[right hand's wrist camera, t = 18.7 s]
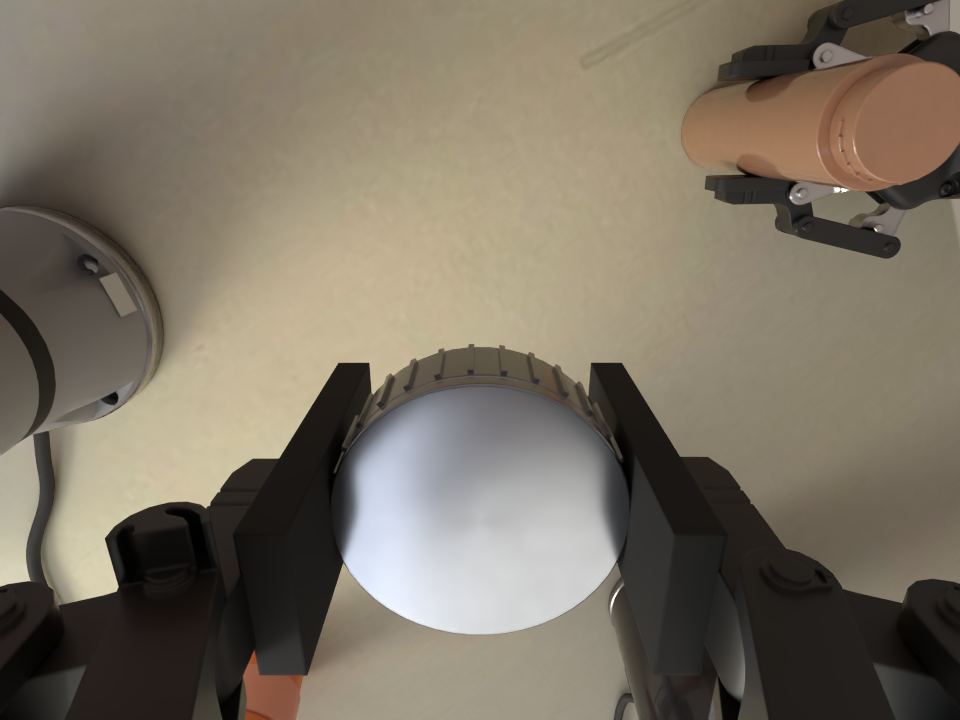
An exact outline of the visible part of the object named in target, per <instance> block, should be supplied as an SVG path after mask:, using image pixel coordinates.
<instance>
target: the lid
mask: <svg viewBox="0 0 960 720" xmlns="http://www.w3.org/2000/svg"><path fill="white" fill-rule="evenodd" d="M340 451H342V454H341V456H340V458H339V461H338V463H337V465H336V468H335V470H334V478H333V483H332V488H331V492H330V514H331V523H332V531H333V538H334V542H335V545H336V547H337V550H338V552H339V554H340V557H341V559H342V561H343V562H344V564H345V566H346V567H347V569H348V571H349V572H350V574H351V575H352V576H353V577H354V579H355V580H356V581H357V582H358V584H359V585H360V586H361V587H362V588H363V589H364V590H365V591H366V592H367V593H368V594H369V595H370V596H371V597H372V598H374V599H375V600H376V601H378V602H379V603H380V604H382V605H383V606H384V607H386V608H387V609H389V610H391V611H392V612H394V613H396V614H398V615H399V616H401V617H403V618H405V619H408V620H410V621H412V622H415V623H417V624H419V625H423V626H426V627H429V628H432V629H435V630H440V631H445V632H450V633H457V634H466V635H493V634H504V633H510V632H515V631H520V630H525V629H528V628H531V627H534V626H538V625H541V624H543V623H546V622H548V621H550V620H553V619H555V618H557V617H559V616H561V615H562V614H564V613H566V612H568V611H570V610H571V609H573V608H574V607H576V606H577V605H578V604H580V603H581V602H583V601H584V600H585V599H586V598H588V597H589V596H590V595H591V594H592V593H593V592H594V591H595V590H596V589H597V588H598V587H599V586H600V585H601V584H602V582H603V581H604V580H605V579H606V578H607V577H608V575H609V574H610V572H611V571H612V569H613V568H614V566H615V564H616V563H617V561H618V559H619V557H620V555H621V552H622V550H623V548H624V545H625V542H626V538H627V534H628V526H629V517H630V506H631V498H630V492H629V487H628V482H627V478H626V475H625V473H624V470H623V467H622V465H621V463H622V462H624V458H623V456H622V454H621V451H620V449H619V447H618V445H617V442H616V440H615V438H614V436H613V433H612V431H611V429H610V427H609V425H608V424H607V422H606V420H605V418H604V415H603V413H602V411H601V408H600V406H599V404H598V403H597V402H596V403H594V404H593V403H592V401H591V400H590V399H589V397H588V396H587V395H586V392H585V390H584V387H583V385H582V384H581V383H580V382H578V383H575V382H574V381H573V380H572V379H570V378H569V377H568V376H566V375H565V374H564V373H562V370H561V367H560V366H558V365H557V364H556V365H555V366H554V367H553V366H551V365H549V364H548V363H546V362H544V361H542V360H539V359H537V358H535V356H534V354H533V353H531V352H529V353H528V355H527V354H523V353H519V352H515V351H512V350H507V349H505V346H501V345H499V348H491V347H474V344H469V347H468V348H461V349H453V350H449V351H445V350H444V348H443V349H439V351H438V353H437V354H434V355H431V356H428V357H426V358H423V359H421V360H418V361H417V360H416V359H413V360H411V362H410V365H409V366H407V367H405V368H403V369H402V370H401V371H399V372H398V373H396V374H395V375H394V376H393V375H392V374H391V373H390V374H389V375H388V376H387V377H386V380H385V382H384V384H383V385H382V386H381V387H380V388H379V389H378V390H377V391H376V392H375V394H374V395H373V394H372V393H370V394H369V395H368V396H367V399H366V401H365V403H364V406H363V408H362V410H361V413H360V415H359V416H358V415H355V417H354V420H353V422H352V424H351V426H350V429H349V431H348V433H347V435H346V438H345V440H344V442H343V444H342V447H341V449H340Z"/></svg>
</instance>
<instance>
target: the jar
mask: <svg viewBox="0 0 960 720" xmlns="http://www.w3.org/2000/svg"><path fill="white" fill-rule="evenodd" d="M681 139H682V145H683V148H684V150H685V152H686V154H687V156H688V157H689V158H690V159H691V160H692V161H693V162H694V163H695V164H697V165H698V166H700V167H703V168H706V169H712V170H719V171H726V172H733V173H740V174H746V175H753V176H760V177H767V178H774V179H780V180H787V181H794V182H801V183H808V184H814V185H821V186H828V187H835V188H842V189H848V190H855V191H876V190H881V189H885V188H888V187H890V186H893V185H902V184H905V183H908V182H911V181H913V180H918V179H919V178H921V177H923V176H925V175H927V174H929V173H930V172H932V171H934V170H935V169H936V168H938V167H939V166H940V165H941V164H943V163H944V162H945V161H946V160H947V159H948V158H949V156H950V155H951V154H952V153H953V152H954V150H955V149H956V147H957V146H958V145H959V143H960V76H959V75H958V74H957V73H956V72H955V71H954V70H952V69H951V68H949V67H948V66H946V65H944V64H940V63H937V62H931V61H925V60H923V59H921V58H919V57H916V56H913V55H909V54H887V55H881V56H876V57H871V58H866V59H861V60H856V61H851V62H846V63H841V64H836V65H832V66H827V67H822V68H817V69H812V70H807V71H802V72H797V73H792V74H787V75H782V76H777V77H772V78H767V79H762V80H757V81H752V82H747V83H742V84H737V85H732V86H727V87H722V88H717V89H714V90H711V91H709V92H707V93H705V94H703V95H702V96H701V97H699V98H698V99H697V100H696V101H695V102H694V103H693V104H692V106H691V107H690V108H689V110H688V111H687V113H686V115H685V118H684V121H683V124H682V130H681Z"/></svg>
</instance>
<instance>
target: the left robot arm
mask: <svg viewBox="0 0 960 720" xmlns="http://www.w3.org/2000/svg"><path fill="white" fill-rule="evenodd" d="M889 15H892V17H891V21H892V23H894V24H895V26H896V27H898V28H900V29H906V28H909V29H912V30H914V31H915V33H916V35H917V39H916V40H915V41H914V42H912V43H911V44H909V45H908V46H906V47H905V48H904V49H902V50H901V51H899V52H898V53H897V54H909V55H913V56H916V57H919V58H921V59H923V60H925V61H931V62H937V63H940V64H944V65H946V66H948V67H949V68H951V69H952V70H954V71H955V72H956V73H957V74H958V75H959V76H960V34H958V33H956V32H952V31H949V23H950V0H844V1H842V2H839V3H836V4H834V5H831V6H828V7H825V8H823V9H820V10H818V11H816V12H814V13H813V14H812V15H811V16H810V18H809V20H808V25H807V27H808V31H807V33H806V35H805V37H804V39H803V41H802V42H801V43H800V44H799V45H767V46H766V45H765V46H752V47H749V48H746V49H743V50H741V51H739V52H736V53H734V54H732V61H731V62H730V63H726V64H723V65H720V66H719V73H718V80H719V81H728V80H762V79H767V78H772V77H777V76H782V75H787V74H792V73H797V72H802V71H807V70H812V69H817V68H822V67H827V66H832V65H836V64H841V63H846V62H851V61H856V60H861V59H866V58H871V57H873V56H864V55H860V54H858V53H855V52H853V51H850V50H848V49H845V48H843V47H840V46H839V45H840V43H841V41H842V39H843V37H844V35H845V33H846V31H847V29H848V28H849V27H852V26H856V25H859V24H862V23H866V22H869V21H873V20H876V19H879V18H883V17H886V16H889ZM705 189H706V190H711V191H715V197H714V198H715V199H718V200H720V201H723V202H726V203H730V204H774V205H775V207H776V210H777V215H778V216H777V217H776V220H775V227H776V228H777V230H779V231H781V232H784V233H788V234H792V235H795V236H797V237H800V238H803V239H807V240H811V241H815V242H819V243H823V244H827V245H832V246H836V247H840V248H844V249H848V250H852V251H856V252H860V253H865V254H869V255H873V256H877V257H881V258H891V257H893V256H895V255H896V254H897V253H898V251H899V249H900V246H901V243H900V240H899V239H898V238H897V237H894V234H895V232H896V230H897V228H898V226H899V224H900V222H901V220H902V218H903V216H904V213H905V211H906V210H908V209H912V208H915V207H917V206H919V205H921V204H923V203H925V202H927V201H930V200H935V199H960V143H959V145H958V146H957V147H956V149H955V150H954V152H953V153H952V154H951V155H950V156H949V158H948V159H947V160H946V161H945V162H944V163H943V164H941V165H940V166H939V167H938V168H936V169H935V170H934V171H932V172H930V173H929V174H927V175H925V176H923V177H921V178H919V179H918V180H913V181H911V182H908V183H905V184H902V185H893V186H890V187H888V188H885V189H881V190H876V191H865V192H866V193H867V194H868V195H869V196H871V197H872V198H873V199H874V200H875V201H876V202H878V203H879V204H880V206H879V207H878V208H877V209H876V210H875V211H874V212H872V213H869V214H864V213H863V214H859V215H857V216H855V217H854V218H853V219H851V220H850V221H849V225H846V224H841V223H837V222H833V221H829V220H825V219H821V218H817V217H814V216H813V211H812V205H811V202H812V201H815V200H817V199H820V198H823V197H826V196H828V195H831V194H834V193H838V192H846V191H850V190H848V189H842V188H835V187H828V186H821V185H814V184H808V183H801V182H794V181H787V180H780V179H774V178H767V177H760V176H753V175H714V176H706V182H705ZM609 614H610V618H611V621H612V624H613V626H614V628H615V632H616V635H617V639H618V643H619V647H620V651H621V655H622V658H623V662H624V666H625V672H626V676H627V679H628V683H629V687H630V690H631V694H630V693H626V694H624V695H623V696H622V697H621V699H620V700H619V702H618V704H617V707H616V711H615V718H614V720H622V716H623V712H624V709H625V707H626V705H627V703H628V702H632V703H635V707H636V710H637V714H638V718H639V720H708V717H709V712H710V707H711V702H712V697H713V692H714V688H715V683H716V678H717V671H716V669H715V666H714V664H713V662H712V660H711V657H710V655H709V653H708V651H707V648H706V652H705V657H704V662H703V668H702V673H701V675H653V673H652V670H651V667H650V664H649V661H648V658H647V654H646V651H645V648H644V645H643V642H642V639H641V636H640V633H639V629H638V626H637V623H636V620H635V617H634V614H633V611H632V607H631V604H630V601H629V598H628V595H627V592H626V589H625V586H624V582H623V579H622V578H621V579H620V580H619V581H618V583H617V584H616V585H615V587H614V589H613V590H612V593H611V595H610V599H609Z"/></svg>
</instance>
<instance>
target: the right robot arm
mask: <svg viewBox="0 0 960 720" xmlns="http://www.w3.org/2000/svg"><path fill="white" fill-rule="evenodd" d="M162 345H163V329H162V321H161V315H160V312H159V308H158V305H157V302H156V299H155V297H154V294H153V292H152V290H151V288H150V286H149V284H148V282H147V281H146V279H145V277H144V276H143V274H142V273H141V271H140V270H139V268H138V267H137V266H136V264H135V263H134V262H133V261H132V260H131V258H130V257H129V256H128V255H127V254H126V253H125V252H124V251H123V250H122V249H121V248H120V247H119V246H118V245H117V244H116V243H114V242H113V241H112V240H111V239H110V238H108V237H107V236H106V235H104V234H103V233H102V232H100V231H99V230H97V229H95V228H94V227H92V226H91V225H89V224H87V223H85V222H83V221H81V220H79V219H77V218H74V217H72V216H70V215H67V214H64V213H61V212H58V211H55V210H50V209H46V208H40V207H32V206H14V207H5V208H0V455H2V454H3V453H4V452H6V451H7V450H9V449H10V448H12V447H13V446H14V445H16V444H17V443H19V442H20V441H22V440H23V439H25V438H26V437H28V436H29V435H32V434H33V436H34V446H35V456H36V463H37V469H38V475H39V482H40V495H39V503H38V508H37V512H36V515H35V518H34V521H33V524H32V527H31V530H30V534H29V537H28V542H27V549H26V561H27V568H28V573H29V577H30V580H31V582H30V581H27V582H20V583H14V584H7V585H4V586H1V587H0V720H245V714H246V704H247V695H246V688H245V683H244V678H243V675H244V673H245V670H246V668H247V666H248V663H249V661H250V659H251V657H252V654H253V652H254V650H255V655H256V660H257V666H258V671H259V675H307V674H308V671H309V668H310V665H311V662H312V659H313V656H314V652H315V649H316V646H317V643H318V640H319V637H320V634H321V630H322V627H323V624H324V621H325V618H326V615H327V612H328V609H329V605H330V602H331V599H332V596H333V593H334V590H335V587H336V584H337V580H338V577H339V574H340V571H341V568H342V565H343V561H342V559H341V557H340V554H339V552H338V550H337V547H336V545H335V542H334V538H333V531H332V523H331V514H330V492H331V488H332V483H333V478H334V470H335V468H336V465H337V463H338V461H339V458H340V456H341V454H342V451H340V449H341V447H342V444H343V442H344V440H345V438H346V435H347V433H348V431H349V429H350V426H351V424H352V422H353V420H354V417H355V415H358V416H359V415H360V413H361V410H362V408H363V406H364V403H365V401H366V399H367V396H368V395H369V394H370V393H371V380H370V366H369V363H338V365H337V366H336V368H335V370H334V371H333V373H332V374H331V376H330V378H329V379H328V381H327V382H326V384H325V386H324V387H323V389H322V391H321V392H320V394H319V395H318V397H317V399H316V400H315V402H314V403H313V405H312V407H311V408H310V410H309V411H308V413H307V415H306V416H305V418H304V420H303V421H302V423H301V424H300V426H299V428H298V429H297V431H296V432H295V434H294V436H293V437H292V439H291V441H290V442H289V444H288V445H287V447H286V449H285V450H284V452H283V453H282V455H281V457H280V458H279V459H252V460H250V461H249V462H247V463H246V464H245V465H243V466H242V467H240V468H239V469H237V470H236V471H234V472H233V473H232V474H231V475H230V477H229V478H228V479H227V481H226V482H225V484H224V485H223V486H222V488H221V489H220V490H221V491H220V492H218V493H217V494H216V496H215V497H214V499H213V500H212V501H211V504H210V506H208V507H207V508H206V509H205V508H204V507H203V506H202V505H199V504H195V503H190V502H170V503H165V504H161V505H157V506H153V507H149V508H147V509H144V510H142V511H140V512H137V513H135V514H133V515H131V516H129V517H128V518H126V519H125V520H123V521H122V522H120V523H119V524H117V525H116V526H115V527H114V528H113V529H112V530H111V532H110V533H109V534H108V535H107V537H106V538H105V541H106V544H107V548H108V551H109V555H110V558H111V561H112V565H113V568H114V572H115V575H116V579H117V582H118V586H119V588H118V590H117V592H114V593H111V594H107V595H104V596H99V597H95V598H90V599H86V600H81V601H77V602H72V603H68V604H63V605H58V602H57V600H56V597H55V594H54V591H53V590H52V589H51V588H50V587H48V585H47V582H46V580H45V577H44V574H43V570H42V565H41V556H40V550H41V541H42V537H43V533H44V530H45V527H46V524H47V521H48V518H49V515H50V512H51V508H52V505H53V499H54V489H55V483H54V472H53V466H52V459H51V450H50V438H49V430H53V429H58V428H62V427H66V426H70V425H74V424H78V423H83V422H88V421H92V420H96V419H98V418H101V417H104V416H106V415H108V414H110V413H112V412H114V411H115V410H117V409H118V408H120V407H121V406H122V405H124V404H125V403H126V402H128V401H129V400H130V399H132V398H133V397H134V396H136V395H137V394H138V393H139V392H140V391H141V390H142V389H143V388H144V387H145V386H146V385H147V383H148V382H149V381H150V379H151V378H152V376H153V374H154V373H155V371H156V368H157V366H158V363H159V360H160V356H161V352H162ZM589 399H590V400H591V401H592V403H593V404H594V403H596V402H597V403H598V404H599V406H600V408H601V411H602V413H603V415H604V418H605V420H606V422H607V424H608V425H609V427H610V429H611V431H612V433H613V436H614V438H615V440H616V442H617V445H618V447H619V449H620V451H621V454H622V456H623V458H624V462H622V463H621V465H622V467H623V470H624V473H625V475H626V478H627V482H628V487H629V492H630V498H631V506H630V517H629V526H628V534H627V538H626V542H625V545H624V548H623V550H622V552H621V555H620V557H619V559H618V561H617V564H618V567H619V570H620V573H621V576H622V579H623V582H624V586H625V589H626V592H627V595H628V598H629V601H630V604H631V607H632V611H633V614H634V617H635V620H636V623H637V626H638V629H639V633H640V636H641V639H642V642H643V645H644V648H645V651H646V654H647V658H648V661H649V664H650V667H651V670H652V673H653V675H701V673H702V668H703V662H704V657H705V652H706V648H707V651H708V653H709V655H710V657H711V660H712V662H713V664H714V666H715V669H716V671H717V678H716V683H715V688H714V692H713V697H712V702H711V707H710V712H709V717H708V720H960V584H958V583H955V582H950V581H944V580H937V579H928V580H921V581H916V582H915V583H914V584H912V585H911V586H910V587H909V588H908V589H907V592H906V595H905V598H904V601H903V603H899V602H895V601H890V600H886V599H881V598H877V597H872V596H868V595H863V594H859V593H855V592H851V591H848V590H844V589H842V587H841V585H840V584H839V582H838V581H837V579H836V578H835V576H834V575H833V573H832V572H830V571H829V570H828V569H827V568H825V567H824V566H823V565H821V564H820V563H819V562H818V561H816V560H814V559H812V558H810V557H808V556H806V555H804V554H802V553H800V552H796V551H792V550H789V549H786V548H785V547H784V546H783V544H782V543H781V542H780V540H779V539H778V538H777V536H776V535H775V534H774V532H773V531H772V529H771V528H770V527H769V525H768V524H767V523H766V521H765V520H764V519H763V517H762V516H761V515H760V513H759V512H758V511H757V509H756V508H755V506H754V505H753V504H750V500H749V498H748V497H747V496H746V494H745V493H744V492H743V490H740V486H739V485H738V483H737V482H736V481H735V479H734V478H733V477H732V475H731V474H730V473H729V471H728V470H726V469H725V468H723V467H722V466H720V465H719V464H717V463H716V462H714V461H713V460H711V459H710V458H708V457H680V456H679V454H678V453H677V451H676V450H675V448H674V446H673V445H672V443H671V442H670V440H669V438H668V437H667V435H666V433H665V432H664V430H663V429H662V427H661V425H660V424H659V422H658V421H657V419H656V417H655V416H654V414H653V412H652V411H651V409H650V408H649V406H648V404H647V403H646V401H645V400H644V398H643V396H642V395H641V393H640V392H639V390H638V388H637V387H636V385H635V383H634V382H633V380H632V379H631V377H630V375H629V374H628V372H627V371H626V369H625V367H624V366H623V364H622V363H591V371H590V384H589Z"/></svg>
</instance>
